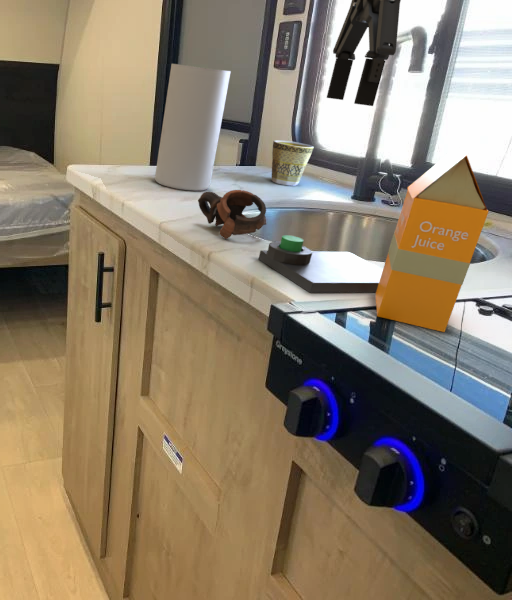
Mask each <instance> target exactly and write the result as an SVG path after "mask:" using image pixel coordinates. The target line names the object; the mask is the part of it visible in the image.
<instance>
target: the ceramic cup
mask: <svg viewBox="0 0 512 600" xmlns="http://www.w3.org/2000/svg"><path fill="white" fill-rule="evenodd" d="M314 148H315V147H314V146H313V145H310V144H306V143H301V142H297V141H291V140H281V139H280V140H278V139H276V140H273V142H272V152H271V153H272V155H271V156H272V161H271V179H270V180H271V182H273V183H275V184H278V185H282V186H290V187H291V186H292V187H296V186H298V185H299V183H300V181H301V178H302V176H303V173H304V171H305V169H306V166H307V164H308V162H309V160H310V158H311V155H312V153H313V151H314Z"/></svg>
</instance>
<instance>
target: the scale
mask: <svg viewBox="0 0 512 600" xmlns="http://www.w3.org/2000/svg"><path fill="white" fill-rule="evenodd" d="M280 243H281V240H280V241H279V240H278V241H277V240H276V241H271V242H269V244H268V247H267V250H266V249H265V250H264V249H263V250H262V249H261V250H260V251H259V255H258V260H259V261H260V262H262V263H263V264H265V265H267V266H268V267H270V268H271V269H273V270H274V271H276V272H278V273H279V274H281V275H282V276H283V277H285V278H287V279H288V280H289V281H291V282H293V283H294V284H296V285H298V286H299V287H300V288H302V289H303V290H305V291H307V292H308V293H310V294H320V293H321V294H322V293H324V294H325V293H327V294H329V293H330V294H331V293H333V294H334V293H336V294H337V293H339V294H340V293H376V291H377V287H378V284H379V281H380V278H381V275H382V271H383V268H382V267H380V266H378V265H376V264H374V263H372V262H370V261H367V260H366V259H364V258H362V257H360V256H357V255H356V254H354V253H352V252H350V251H317V250H315V251H314V250H311V248H308V247H306V246H304V245H302V249H301V252H293V251H288V250H284V249H281V248H280Z"/></svg>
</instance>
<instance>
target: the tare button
mask: <svg viewBox="0 0 512 600" xmlns="http://www.w3.org/2000/svg"><path fill="white" fill-rule="evenodd" d="M280 241H281V243H280V248H281V249H284V250H288V251H293V252H301V249H302V246H304V242H305V241H304V239H303V238H301V237H298V236H295V235H287V234H286V235H282V236H281V239H280Z"/></svg>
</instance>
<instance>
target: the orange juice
mask: <svg viewBox="0 0 512 600" xmlns="http://www.w3.org/2000/svg"><path fill="white" fill-rule="evenodd" d="M468 155H469V153H467V152H465V150H462V149H461V148H460V147H457V146H456V147H454V148H453V149H452V150H451V151H450V152H449V153H447V154H446V155H445V156H444V157H442V158H441V159H440V160H439V161H438V162H436V163H435V164H434V165H433V166H432V167H431V168H429V169H428V170H427V171H425V172H424V173H423V174H421V176H419V177H418V178H417V179H416V180H414V181H413V182H412V183H410V184H409V185H408V186H407V187H406V188H407V191H406V194H405V197H404V201H403V204H402V207H401V210H400V214H399V217H398V220H397V223H396V226H395V229H394V233H393V234H392V237H391V241H390V243H389V248H388V251H387V255H386V259H385V262H384V265H383V268H382V269H383V271H382V275H381V278H380V281H379V284H378V287H377V291H376V292H375V296H374V297H375V307H376V317H378V318H383V319H387V320H390V321H391V320H392V321H395V322H399V323H404V324H407V325H412V326H417V327H421V328H425V329H430V330H433V331H434V330H435V331H437V332H442V333H445V332H446V329H447V326H448V324H449V321H450V319H451V315H452V313H453V311H454V308H455V305H456V302H457V299H458V297H459V294H460V291H461V288H462V286H463V284H464V281H465V279H466V276H467V273H468V271H469V267H470V265H471V261H472V258H473V255H474V253H475V250H476V247H477V244H478V242H479V239H480V237H481V233H482V231H483V228H484V226H485V224H486V223H485V222H486V220H487V218H488V215H489V210H488V209H487V205H486V203H485V201H484V197H483V195H482V192H481V190H480V187H479V185H478V182H477V179H476V176H475V173H474V171H473V168H472V166H471V163H470V160H469V158H468Z"/></svg>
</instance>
